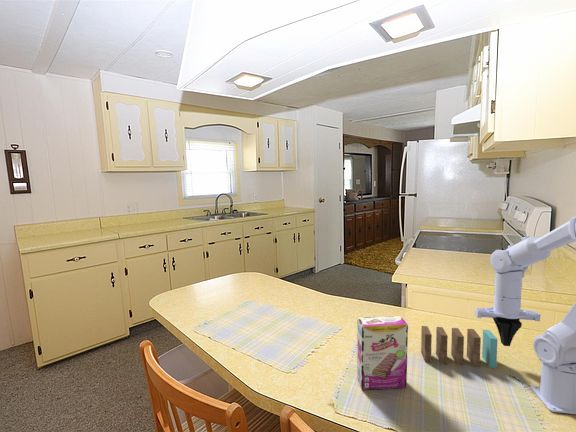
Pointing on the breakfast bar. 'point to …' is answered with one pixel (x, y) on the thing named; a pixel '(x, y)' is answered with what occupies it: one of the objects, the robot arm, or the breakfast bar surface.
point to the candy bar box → (382, 352)
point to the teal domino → (489, 348)
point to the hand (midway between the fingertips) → (505, 344)
